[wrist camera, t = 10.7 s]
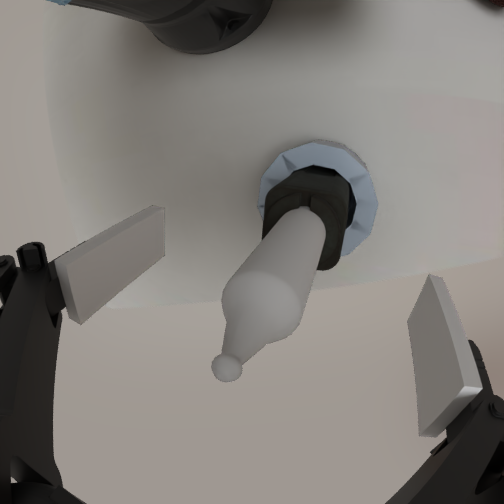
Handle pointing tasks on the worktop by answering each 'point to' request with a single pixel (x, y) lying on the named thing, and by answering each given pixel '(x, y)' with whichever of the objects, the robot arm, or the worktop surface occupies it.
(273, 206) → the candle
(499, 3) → the potato
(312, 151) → the pale blue faceted cup
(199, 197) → the worktop surface
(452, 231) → the worktop surface
